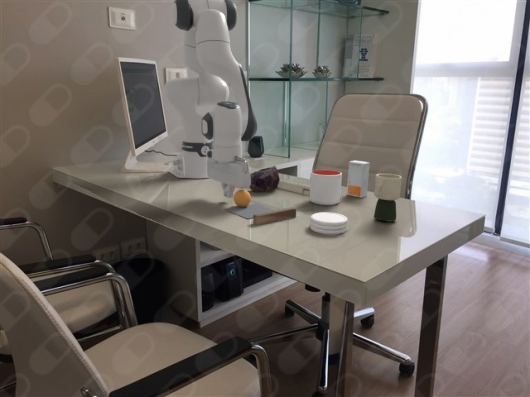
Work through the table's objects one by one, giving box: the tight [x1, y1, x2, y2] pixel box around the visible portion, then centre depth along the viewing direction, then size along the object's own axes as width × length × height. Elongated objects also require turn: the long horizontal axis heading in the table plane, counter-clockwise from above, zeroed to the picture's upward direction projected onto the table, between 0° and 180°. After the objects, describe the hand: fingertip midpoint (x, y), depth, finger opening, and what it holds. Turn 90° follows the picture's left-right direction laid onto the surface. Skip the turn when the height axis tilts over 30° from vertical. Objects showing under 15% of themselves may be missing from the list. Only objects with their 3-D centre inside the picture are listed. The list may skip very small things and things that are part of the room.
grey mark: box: [225, 202, 275, 220], centre depth 133 cm, size 12×12×1 cm
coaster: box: [309, 211, 349, 235], centre depth 118 cm, size 10×10×4 cm
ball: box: [233, 189, 252, 207], centre depth 137 cm, size 5×5×5 cm
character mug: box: [373, 173, 403, 222], centre depth 125 cm, size 11×7×13 cm, turn 132°
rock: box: [249, 165, 281, 193], centre depth 158 cm, size 12×9×10 cm
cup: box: [309, 169, 343, 206], centre depth 144 cm, size 10×10×10 cm
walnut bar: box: [252, 206, 297, 226], centre depth 124 cm, size 2×14×2 cm, turn 128°
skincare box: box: [346, 160, 371, 199], centre depth 153 cm, size 6×4×12 cm
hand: (228, 196), depth 142 cm, fingers closed
